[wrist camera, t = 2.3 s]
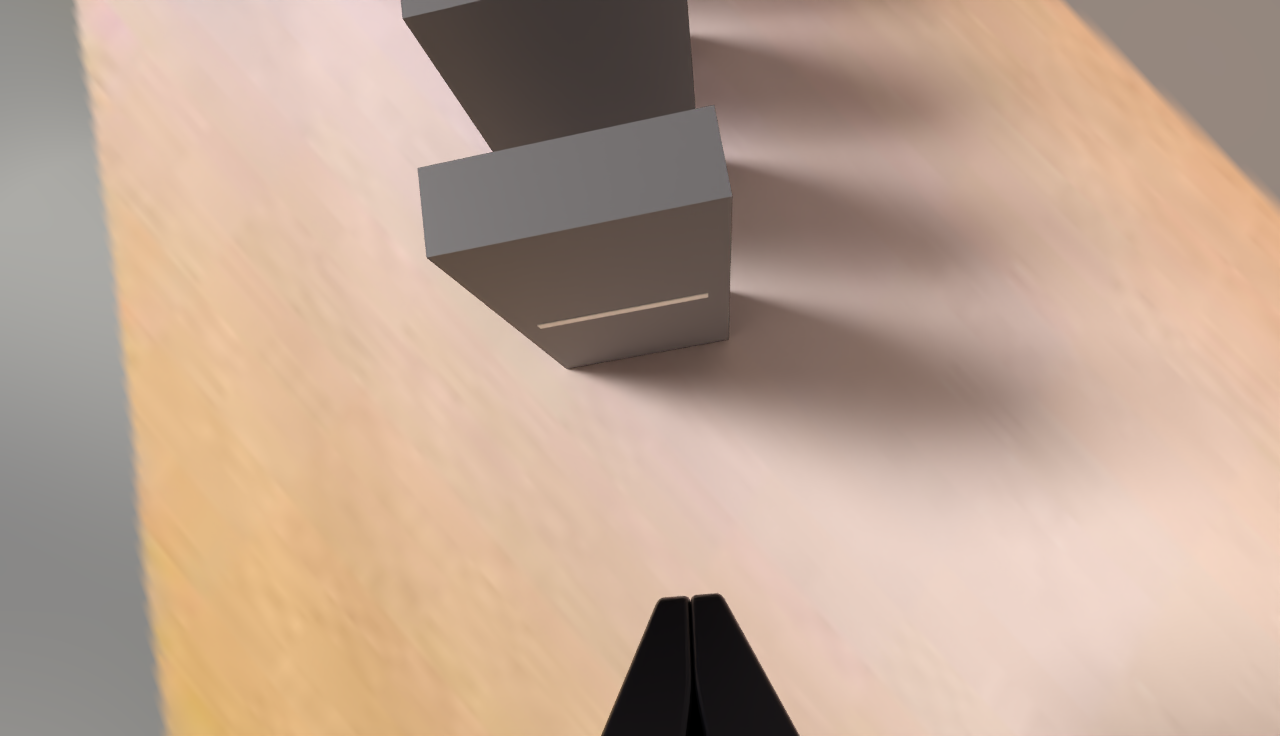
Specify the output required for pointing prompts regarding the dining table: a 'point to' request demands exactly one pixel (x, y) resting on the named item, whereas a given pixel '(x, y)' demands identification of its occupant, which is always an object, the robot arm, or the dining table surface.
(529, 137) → the domino
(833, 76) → the dining table surface
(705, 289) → the domino
